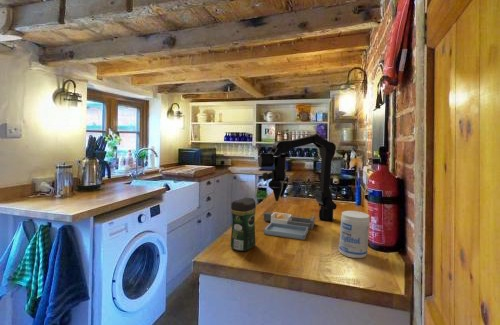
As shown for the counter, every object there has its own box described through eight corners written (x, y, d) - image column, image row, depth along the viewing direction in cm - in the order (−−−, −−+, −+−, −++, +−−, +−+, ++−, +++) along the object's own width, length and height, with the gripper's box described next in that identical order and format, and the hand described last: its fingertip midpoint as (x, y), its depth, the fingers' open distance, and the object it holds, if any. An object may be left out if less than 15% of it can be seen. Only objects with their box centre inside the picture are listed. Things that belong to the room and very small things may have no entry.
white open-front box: (291, 222, 134) (291, 214, 134) (289, 225, 128) (289, 217, 128) (266, 219, 138) (266, 211, 138) (262, 222, 133) (263, 214, 132)
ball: (285, 219, 134) (283, 212, 134) (283, 221, 130) (281, 214, 131) (278, 221, 135) (276, 214, 135) (277, 223, 131) (274, 216, 132)
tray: (308, 231, 121) (308, 226, 121) (304, 240, 111) (304, 235, 110) (270, 226, 127) (270, 222, 127) (263, 234, 116) (264, 229, 116)
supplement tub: (337, 256, 96) (340, 215, 95) (339, 246, 105) (341, 209, 103) (367, 261, 92) (370, 219, 91) (367, 250, 101) (369, 212, 100)
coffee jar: (240, 240, 108) (241, 195, 107) (258, 245, 104) (259, 197, 102) (226, 249, 100) (227, 199, 98) (244, 254, 96) (245, 202, 94)
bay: (314, 224, 132) (314, 216, 131) (312, 229, 123) (312, 221, 123) (290, 221, 136) (291, 213, 135) (287, 226, 127) (287, 218, 127)
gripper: (269, 164, 142) (268, 193, 144) (257, 168, 125) (257, 201, 126) (290, 165, 138) (289, 195, 140) (281, 169, 121) (280, 203, 122)
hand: (279, 198), depth 132 cm, fingers open, 9 cm apart
